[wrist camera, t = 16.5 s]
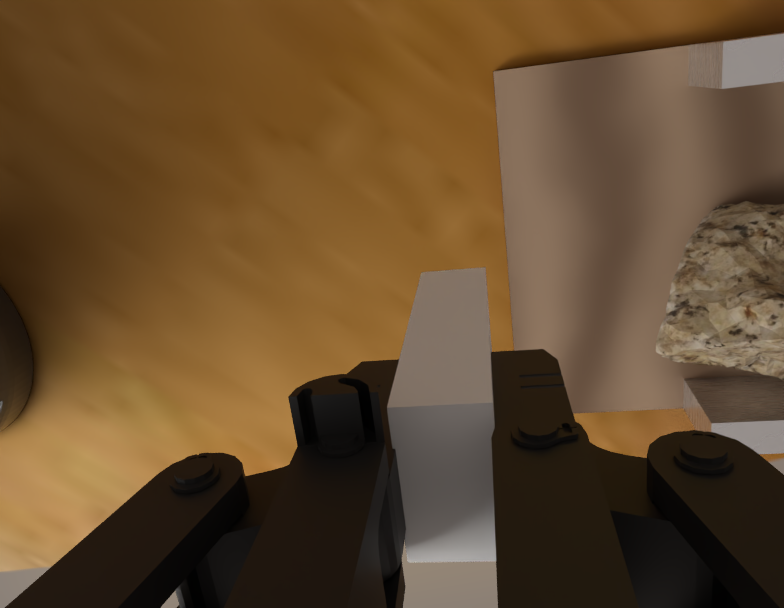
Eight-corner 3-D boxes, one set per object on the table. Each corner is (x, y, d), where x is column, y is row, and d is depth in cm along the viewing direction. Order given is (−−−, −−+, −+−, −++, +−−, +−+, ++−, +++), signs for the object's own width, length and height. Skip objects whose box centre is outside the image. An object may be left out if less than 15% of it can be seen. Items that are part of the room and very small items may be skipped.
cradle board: (518, 406, 39) (519, 415, 38) (493, 71, 33) (493, 71, 32) (931, 385, 36) (946, 395, 35) (988, 4, 30) (1008, 2, 28)
